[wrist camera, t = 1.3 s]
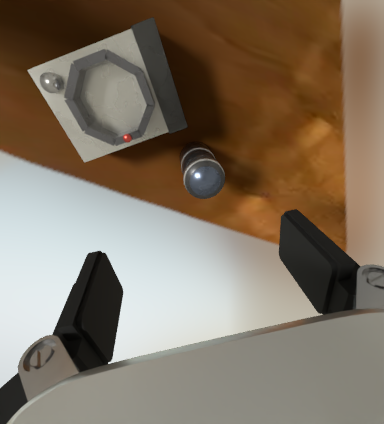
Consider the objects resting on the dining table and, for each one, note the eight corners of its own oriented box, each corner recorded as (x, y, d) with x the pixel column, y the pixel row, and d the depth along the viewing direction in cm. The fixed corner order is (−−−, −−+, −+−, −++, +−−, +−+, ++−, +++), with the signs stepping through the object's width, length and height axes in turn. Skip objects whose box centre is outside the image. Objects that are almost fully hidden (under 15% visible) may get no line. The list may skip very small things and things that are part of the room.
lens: (206, 136, 29) (220, 155, 22) (215, 167, 32) (230, 192, 25) (174, 147, 30) (178, 169, 23) (185, 177, 32) (191, 205, 25)
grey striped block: (155, 29, 23) (153, 12, 17) (183, 118, 28) (189, 129, 22) (50, 70, 24) (12, 69, 18) (95, 149, 28) (77, 170, 22)
